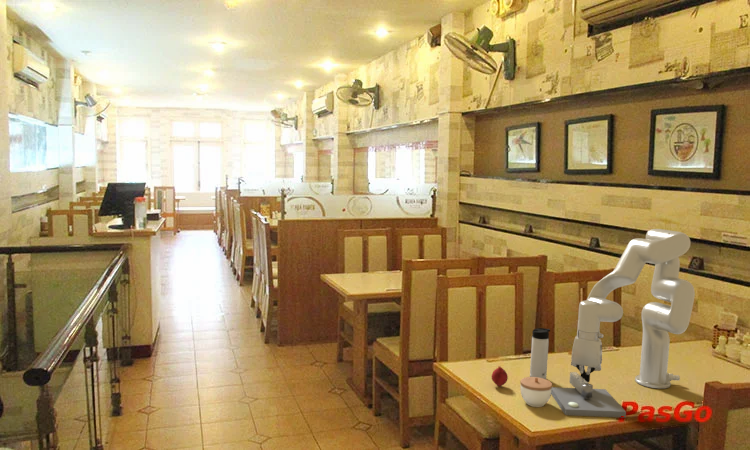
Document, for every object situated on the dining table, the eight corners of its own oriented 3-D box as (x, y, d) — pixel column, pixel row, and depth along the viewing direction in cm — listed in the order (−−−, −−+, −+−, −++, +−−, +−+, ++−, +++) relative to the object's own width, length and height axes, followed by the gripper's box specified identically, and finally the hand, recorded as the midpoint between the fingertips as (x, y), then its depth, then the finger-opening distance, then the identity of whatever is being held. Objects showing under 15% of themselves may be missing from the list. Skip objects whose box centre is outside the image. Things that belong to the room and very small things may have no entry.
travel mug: (547, 382, 235) (550, 331, 232) (530, 380, 236) (533, 330, 234) (546, 376, 241) (549, 327, 239) (529, 375, 242) (532, 326, 240)
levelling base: (605, 394, 224) (605, 387, 224) (625, 417, 204) (626, 409, 204) (550, 392, 224) (550, 385, 224) (565, 415, 204) (565, 407, 204)
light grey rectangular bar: (593, 400, 212) (594, 387, 212) (583, 400, 212) (584, 386, 212) (577, 384, 227) (578, 372, 226) (567, 384, 227) (568, 372, 226)
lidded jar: (542, 412, 206) (544, 385, 205) (513, 403, 213) (515, 377, 212) (556, 403, 214) (557, 377, 213) (528, 395, 221) (529, 370, 220)
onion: (507, 385, 231) (509, 364, 230) (505, 390, 225) (507, 369, 224) (492, 382, 233) (493, 362, 232) (490, 388, 227) (491, 367, 226)
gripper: (611, 336, 222) (608, 384, 224) (569, 329, 230) (566, 376, 232) (607, 341, 215) (604, 391, 217) (564, 333, 223) (561, 382, 225)
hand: (584, 383), depth 224 cm, fingers closed
